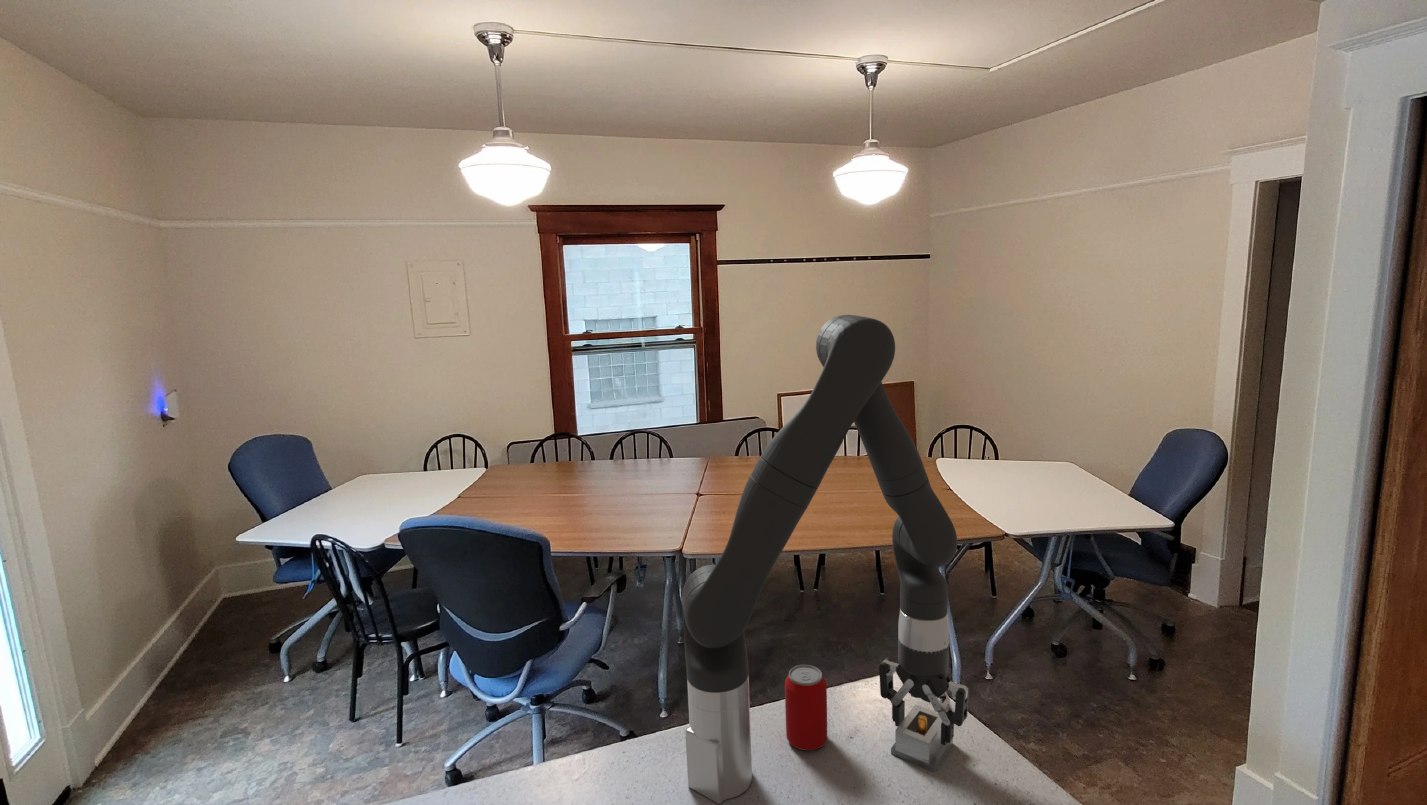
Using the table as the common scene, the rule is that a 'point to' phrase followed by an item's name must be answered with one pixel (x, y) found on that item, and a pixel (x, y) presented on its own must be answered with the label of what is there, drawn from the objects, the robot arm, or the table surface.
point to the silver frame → (919, 735)
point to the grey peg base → (937, 757)
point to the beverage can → (806, 707)
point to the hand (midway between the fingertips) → (922, 732)
